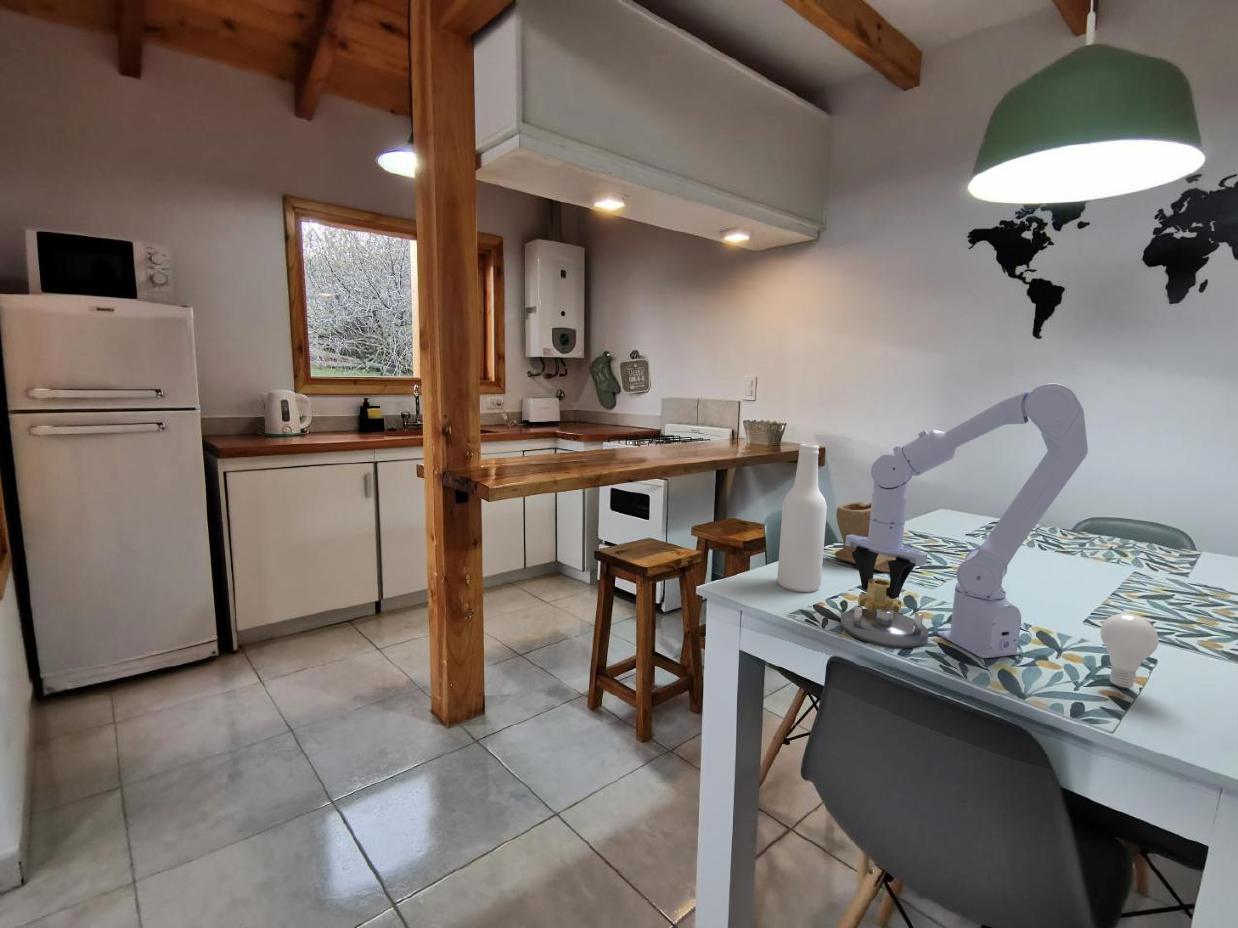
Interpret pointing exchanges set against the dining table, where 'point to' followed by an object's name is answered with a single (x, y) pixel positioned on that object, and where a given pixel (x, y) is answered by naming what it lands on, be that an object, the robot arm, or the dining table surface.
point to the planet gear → (878, 596)
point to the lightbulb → (1127, 646)
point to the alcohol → (803, 527)
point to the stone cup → (857, 531)
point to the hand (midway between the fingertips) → (880, 593)
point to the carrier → (885, 627)
